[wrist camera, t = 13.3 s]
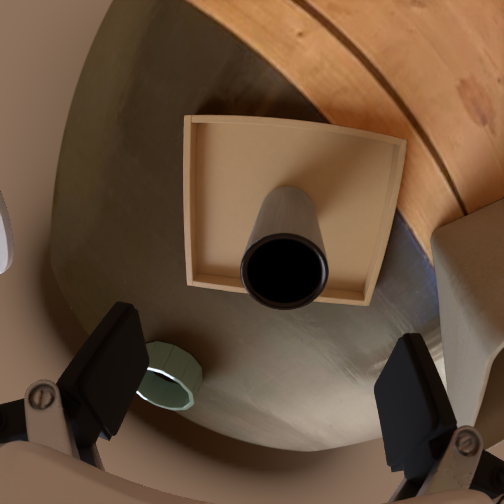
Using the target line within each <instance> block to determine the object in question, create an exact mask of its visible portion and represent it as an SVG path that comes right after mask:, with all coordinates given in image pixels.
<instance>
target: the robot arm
mask: <svg viewBox="0 0 504 504" xmlns="http://www.w3.org/2000/svg"><path fill="white" fill-rule="evenodd" d="M149 362H150V360H149V355H148V352H147V348H146V344H145V340H144V336H143V332H142V327H141V323H140V318H139V314H138V310H137V309H135V308H134V306H133V305H132V304H129V303H124V302H119V301H118V302H116V303H115V304H114V306H113V307H112V308H111V309H110V311H109V312H108V313H107V314H106V316H105V317H104V318H103V320H102V321H101V322H100V323H99V325H98V326H97V327H96V329H95V330H94V331H93V333H92V334H91V335H90V336H89V338H88V339H87V341H86V342H85V343H84V345H83V346H82V347H81V349H80V350H79V351H78V353H77V354H76V356H75V357H74V358H73V360H72V361H71V362H70V364H69V365H68V367H67V368H66V369H65V371H64V372H63V374H62V375H61V377H60V378H59V380H58V382H57V383H56V384H55V383H54V382H52V381H50V380H46V379H45V380H38V381H36V382H34V383H33V384H31V385H30V386H29V387H28V389H27V391H26V393H25V398H24V399H20V400H16V401H12V402H8V403H4V404H0V504H214V503H208V502H204V501H199V500H193V499H189V498H185V497H181V496H177V495H173V494H169V493H166V492H162V491H159V490H155V489H152V488H149V487H146V486H143V485H140V484H137V483H134V482H131V481H128V480H126V479H123V478H121V477H118V476H115V475H113V474H110V473H108V472H105V469H104V467H103V464H102V462H101V458H100V456H99V452H98V450H97V446H96V441H97V438H98V437H101V438H103V439H106V440H108V441H110V439H111V437H112V436H115V435H116V434H117V432H118V430H119V428H120V426H121V424H122V422H123V419H124V417H125V415H126V413H127V411H128V409H129V407H130V404H131V402H132V400H133V398H134V396H135V394H136V392H137V390H138V388H139V386H140V384H141V382H142V380H143V377H144V375H145V373H146V371H147V369H148V367H149ZM374 394H375V399H376V404H377V409H378V414H379V419H380V424H381V430H382V436H383V441H384V448H385V454H386V461H387V465H388V466H391V471H392V472H396V471H402V470H404V475H405V477H404V479H403V480H402V482H401V483H400V485H399V486H398V488H397V489H396V491H395V493H394V494H393V496H392V497H391V498H390V500H389V501H388V503H384V504H504V461H502V460H501V459H499V458H497V457H496V456H494V455H492V454H491V453H489V452H487V451H485V450H484V449H483V438H482V436H481V434H480V432H479V431H478V430H477V429H476V428H474V427H472V426H469V425H464V426H461V427H459V428H458V427H457V420H456V417H455V414H454V412H453V409H452V406H451V403H450V401H449V398H448V396H447V393H446V390H445V388H444V385H443V383H442V380H441V378H440V376H439V373H438V371H437V369H436V366H435V364H434V362H433V359H432V357H431V355H430V353H429V351H428V348H427V346H426V344H425V342H424V340H423V338H422V336H421V334H419V333H405V334H404V335H403V337H400V338H399V339H398V341H397V343H396V345H395V347H394V349H393V351H392V353H391V355H390V357H389V359H388V361H387V363H386V365H385V367H384V369H383V370H382V372H381V374H380V376H379V378H378V379H377V381H376V383H375V386H374Z"/></svg>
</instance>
